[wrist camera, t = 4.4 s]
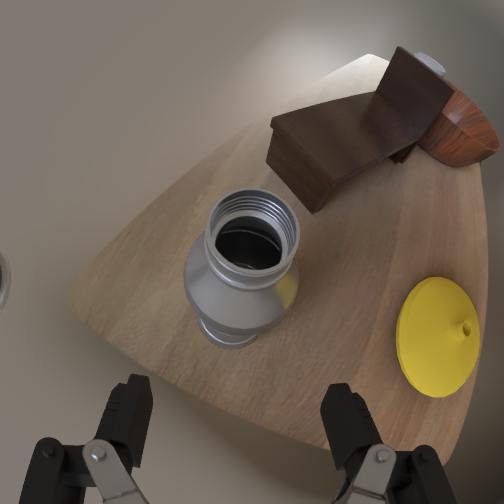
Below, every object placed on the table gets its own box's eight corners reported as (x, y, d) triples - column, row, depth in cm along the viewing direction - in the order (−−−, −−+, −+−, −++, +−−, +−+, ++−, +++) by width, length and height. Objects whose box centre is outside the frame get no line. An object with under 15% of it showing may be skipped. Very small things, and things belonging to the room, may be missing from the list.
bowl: (474, 205, 42) (508, 174, 31) (376, 133, 44) (403, 88, 34) (468, 143, 52) (490, 116, 41) (392, 89, 55) (409, 56, 44)
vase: (364, 366, 28) (399, 362, 21) (408, 262, 34) (440, 240, 28) (442, 413, 26) (478, 414, 19) (473, 317, 32) (505, 305, 25)
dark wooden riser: (313, 218, 35) (375, 108, 18) (262, 160, 38) (288, 46, 21) (404, 162, 42) (456, 90, 26) (362, 121, 45) (400, 46, 29)
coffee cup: (396, 88, 55) (414, 54, 44) (401, 79, 59) (417, 48, 48) (426, 108, 54) (447, 76, 43) (428, 97, 58) (446, 68, 47)
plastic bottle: (259, 288, 30) (322, 164, 12) (261, 351, 28) (346, 315, 9) (199, 287, 30) (177, 156, 11) (198, 351, 27) (158, 315, 9)
